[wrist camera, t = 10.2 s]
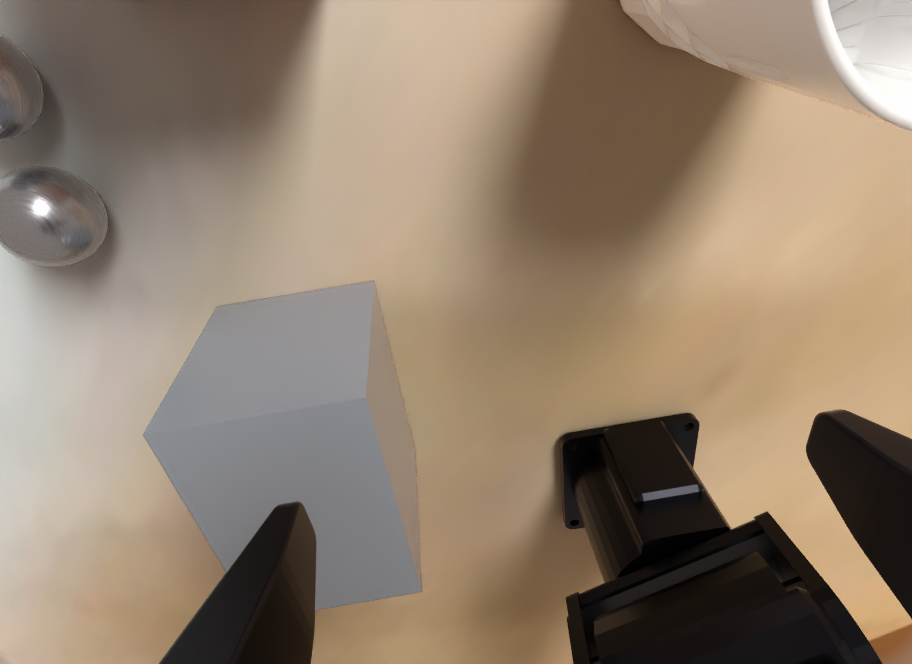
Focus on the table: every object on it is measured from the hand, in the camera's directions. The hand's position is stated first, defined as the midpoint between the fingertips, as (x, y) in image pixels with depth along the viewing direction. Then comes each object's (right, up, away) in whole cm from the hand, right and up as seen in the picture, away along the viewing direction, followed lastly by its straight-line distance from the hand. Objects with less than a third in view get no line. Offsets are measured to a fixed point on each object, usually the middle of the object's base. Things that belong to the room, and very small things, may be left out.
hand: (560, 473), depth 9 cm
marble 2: (-14, +7, +8) cm, 18 cm away
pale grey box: (-7, 0, +13) cm, 15 cm away
